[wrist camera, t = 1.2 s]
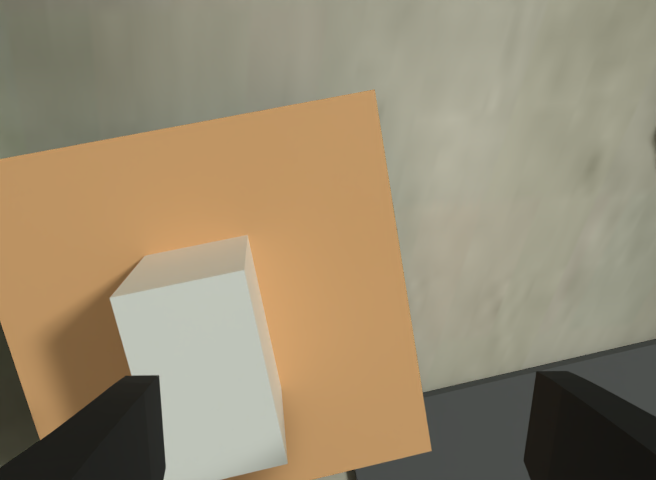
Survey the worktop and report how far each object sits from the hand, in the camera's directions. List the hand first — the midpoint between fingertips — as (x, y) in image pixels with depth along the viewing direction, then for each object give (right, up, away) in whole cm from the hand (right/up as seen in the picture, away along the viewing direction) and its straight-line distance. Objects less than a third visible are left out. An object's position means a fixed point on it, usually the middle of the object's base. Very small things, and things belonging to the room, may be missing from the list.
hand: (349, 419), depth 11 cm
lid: (-4, +1, +7) cm, 8 cm away
